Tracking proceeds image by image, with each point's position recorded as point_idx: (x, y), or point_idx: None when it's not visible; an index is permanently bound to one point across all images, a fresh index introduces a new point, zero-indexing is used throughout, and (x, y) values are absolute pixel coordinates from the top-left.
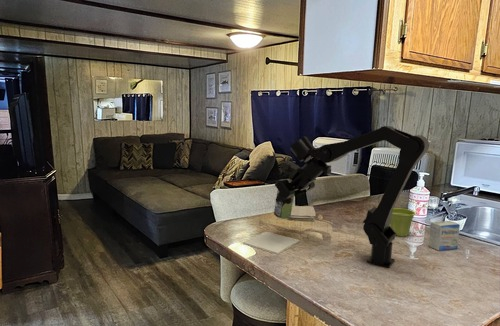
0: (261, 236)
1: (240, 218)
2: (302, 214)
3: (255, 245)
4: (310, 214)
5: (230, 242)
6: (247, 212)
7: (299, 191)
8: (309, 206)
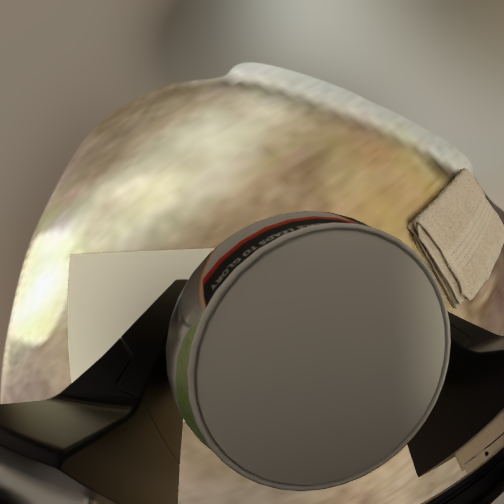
0: (159, 271)
1: (286, 98)
2: (456, 255)
3: (71, 311)
4: (470, 279)
5: (63, 217)
6: (347, 91)
7: (426, 440)
8: (501, 227)
